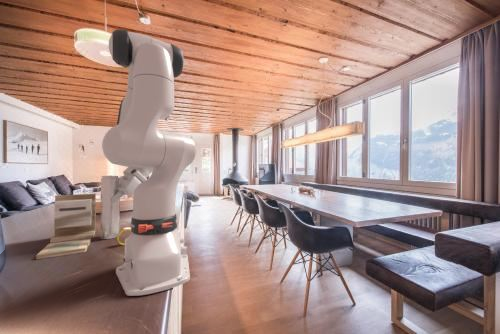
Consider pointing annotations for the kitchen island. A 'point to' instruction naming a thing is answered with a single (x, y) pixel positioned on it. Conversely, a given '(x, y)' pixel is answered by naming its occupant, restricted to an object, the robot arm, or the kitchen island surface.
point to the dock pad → (64, 248)
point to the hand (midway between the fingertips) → (108, 200)
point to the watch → (121, 232)
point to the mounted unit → (74, 217)
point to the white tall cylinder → (110, 207)
